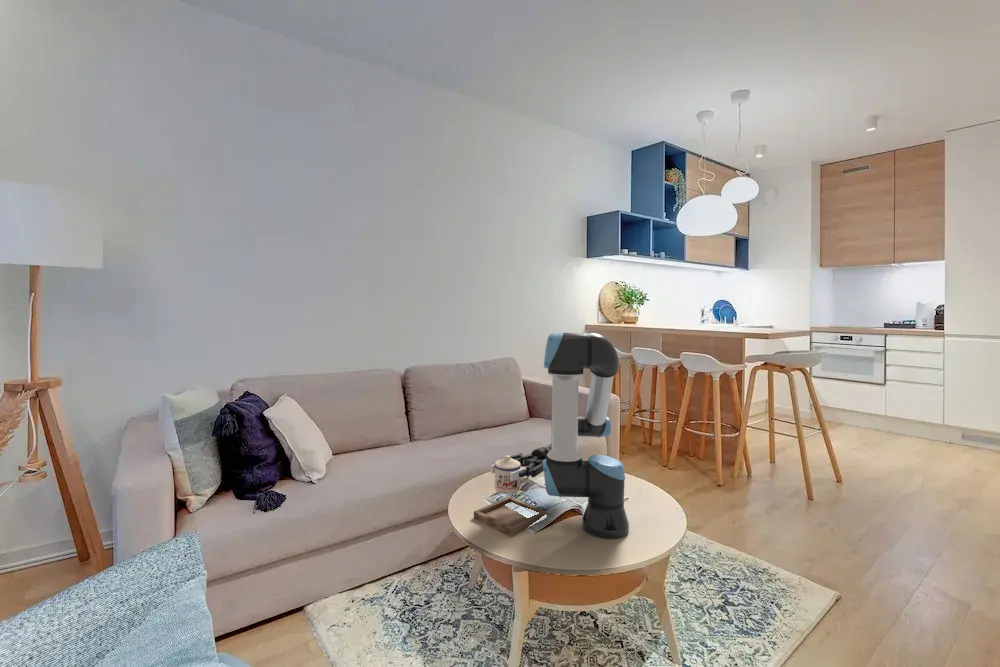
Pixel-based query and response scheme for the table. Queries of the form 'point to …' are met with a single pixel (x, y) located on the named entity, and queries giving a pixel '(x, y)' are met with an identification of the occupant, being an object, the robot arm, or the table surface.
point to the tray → (507, 516)
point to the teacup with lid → (507, 475)
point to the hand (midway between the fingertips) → (501, 473)
